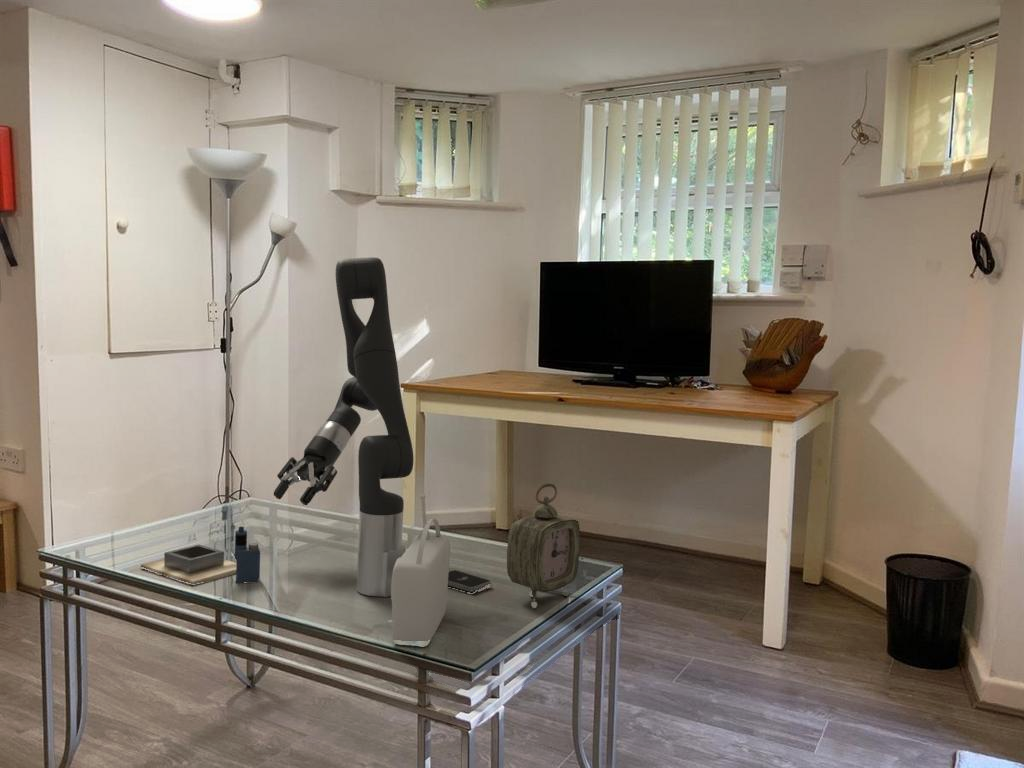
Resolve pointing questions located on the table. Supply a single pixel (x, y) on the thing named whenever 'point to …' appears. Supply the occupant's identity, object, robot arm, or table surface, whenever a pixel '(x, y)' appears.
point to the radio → (420, 585)
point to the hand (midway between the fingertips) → (289, 500)
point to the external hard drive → (466, 581)
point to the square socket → (193, 559)
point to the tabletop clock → (543, 548)
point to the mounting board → (196, 577)
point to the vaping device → (246, 558)
